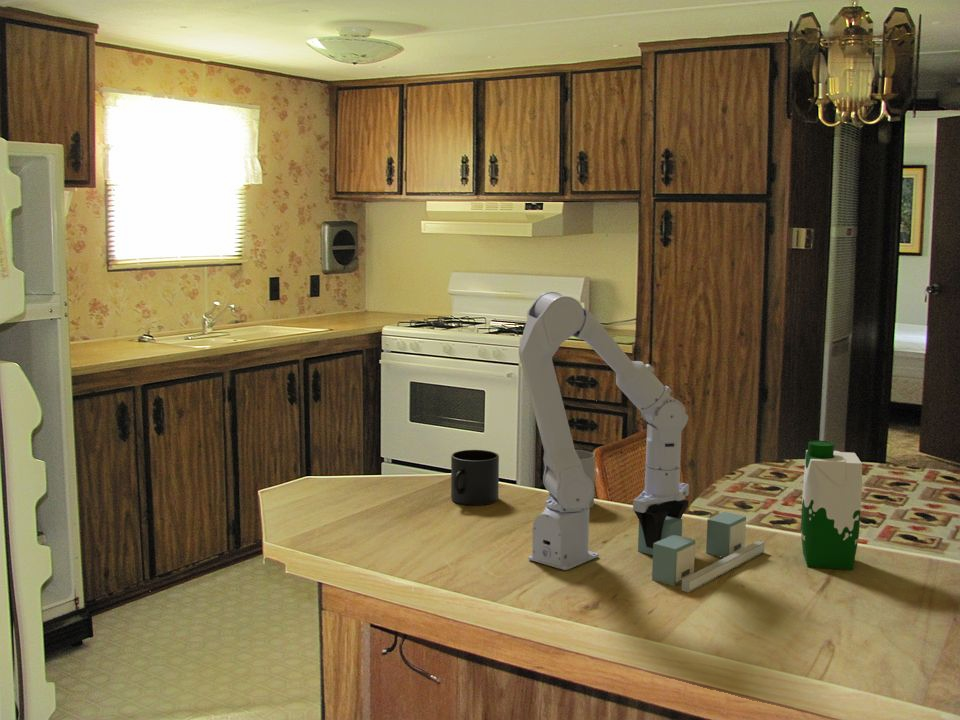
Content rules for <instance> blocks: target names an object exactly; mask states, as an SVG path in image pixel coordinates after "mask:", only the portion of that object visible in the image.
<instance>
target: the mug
mask: <svg viewBox="0 0 960 720" xmlns="http://www.w3.org/2000/svg"><path fill="white" fill-rule="evenodd" d="M450 457H451V459H450V463H451V464H450V465H451V466H450V467H451V469H450V470H451V471H450V472H451V474H450V475H451V476H450V477H451V479H450V482H451V484H450V498H451V500H452V502H454V503H457V504H459V505H462V506H463V505H465V506H475V507H476V506H486V505H490V504H494V503H496V502H497V501H498V500H499V483H500V482H499V480H500V479H499V475H500V474H499V471H500V467H499V466H500V456H499V454H498V453H496V452H494V451H489V450H486V449H485V450H484V449H467V450H466V449H465V450H459V451H456V452H454V453H452V454H451V455H450Z"/></svg>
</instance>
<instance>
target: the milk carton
mask: <svg viewBox="0 0 960 720" xmlns="http://www.w3.org/2000/svg"><path fill="white" fill-rule="evenodd" d="M834 449H835V445H834V443H833V442H831V441H826V440H809V441H808V443H807V449H806V450H805V460H804V470H803V471H804V472H803V484H802V496H801V497H802V499H801V501H802V502H801V515H800V516H801V517H800V518H801V519H800V534H801V537H800V538H801V545H802V547H801V548H802V554H803V557H804V560H805V564H806V566H807V568H819V569H820V568H821V569H822V568H823V569H832V570H834V569H835V570H849V571H853V569H854V566H855V565H854V564H855V559H856V555H857V550H858V543H859V537H860V525H861V509H862V494H863V491H862V490H863V463H862V461H861V460H860V458H859V457H858V456H857V454H856V452H848V451H847V452H846V451H840V450H834Z"/></svg>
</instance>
